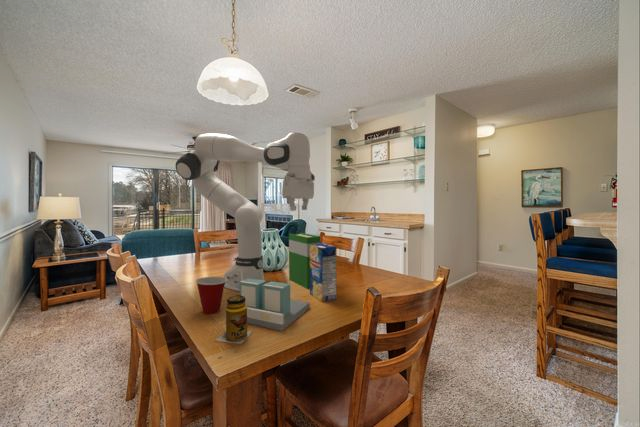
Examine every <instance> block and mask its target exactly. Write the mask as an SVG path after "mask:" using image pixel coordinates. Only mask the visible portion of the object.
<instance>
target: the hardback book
mask: <svg viewBox="0 0 640 427" xmlns="http://www.w3.org/2000/svg"><path fill="white" fill-rule="evenodd" d="M319 243H321V236H320V235H314V234H309V233H304V232H300V233H299V234H293V233H288V276H289V278H288V280H289V281H290V282H292V283H294V284H297V285H299V286H301V287H302V288H304V289H307V290H310V244H319Z"/></svg>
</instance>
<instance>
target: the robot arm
mask: <svg viewBox="0 0 640 427" xmlns="http://www.w3.org/2000/svg"><path fill="white" fill-rule="evenodd" d="M310 146H311V145H310V140H309V138H308V136H306V135H305V134H303V133H300V132H289V133H288V134H287V135H286V136H285V137H283V138H282V139H279V140H277V141H273V142H272V141H271V142H269V143H268V144H267V145H266V146H265V147H258V146H255V145H252V144H250V143H248V142H246V141H244V140H243V139H240V138H237V137H235V136H233V135H229V134H225V133H215V132H214V133H210V132H209V133H202V134H199V135H197V137H196V138H195V140H194V149H192V150H190V151H189V152H187V153H185V154H184V155H182V156H180V157H179V158H178V159H177V160H176V162H175V166H174V168H175V171H176V172H177V174H178V176H180V177H181V178H182V179H184V180H186V181H192V180H193V181H192V186H193V188H194V189H195V190H196V191H197V192H198V193H199V194H200V195H201V196H202V197H203V198H205V199H206V200H207V201H209V202H210V203H211V204H213V205H214V206H215V207H217V208H218V209H219V210H221V211H222V212H224V213H226V214H228V215H229V216H231V217H233V218H234V220H235V231H236V237H237V257H235V258H234V257H233V261H234V262H235V263H234V264H233V265H232V266H231V267H230V268H229V269H227V270H226V271H225V273H224V277H223V278H226V279H227V281H226V283H225V285H224V288H225V289H227V290H228V289H229V290H231V291H232V290H233V291H236V292H239V282H240V281H243V280H245V279H248V278H250V279H257V280H264V281H266V280H265V276H264V271H263V265H264V257H263V255H262V253H263V250H262V249H263V245H262V243H263V240H262V233H261V222H262V220H263V217H264V216H263V215H264V214H263V211H262V209H261V208H260V206H257V205H256V204H255V203H254V202H252V201H251V200H249V199H248V198H246V197H245V196H244V195H243V194H241V193H239V192H237V191H236V190H235V189H233V187H231V186H229V185H228V184H226V183H225V182H224V181H223V180H222V179H220V178H219V177H218V176H216V174H215V172H217V171H218V170H219V165H220V162H256V163H263V164H268V165H269V166H271V167H274V168H278V169H280V170H282V171H286V172H287V173H286V174H285V176H284V178H283V181H282V188H281V190H282V191H281V195H282V198H283V199H287V201H288V204H289V210H290V212H295V211H297V205H296V203H295V201H296V199H302V205H301V210H302V211H307V210H308V204H309V200H312V199H313V198H314V194H315V183H314V181H315V180H316V176H315V175H314V174H313V173H312V171H311V165H310V158H311V148H310Z"/></svg>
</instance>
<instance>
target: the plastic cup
mask: <svg viewBox="0 0 640 427" xmlns="http://www.w3.org/2000/svg"><path fill="white" fill-rule="evenodd" d="M226 281H227V279H226V278H224V277H221V276H204V277H200V278H197V279H195V283H196V286H197V289H198V295H199V299H200V304H201V308H202V312H203V314H206V315H212V314H216V313H218V312H219V311H220V310H221V305H222V301H223V294H224V288H225V287H224V285H225V283H226Z"/></svg>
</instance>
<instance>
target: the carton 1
mask: <svg viewBox="0 0 640 427" xmlns="http://www.w3.org/2000/svg"><path fill="white" fill-rule="evenodd" d="M264 280H265V279H264ZM264 280H257V279H250V278H248V279H245V280H243V281H240V282H239V291H238V295H241V296H244V297H245V302H246V304H245V305H246V306H247V307H250V308H255V309H260V310H263V294H262V285H264V284H266V283H267V280H265V281H264Z"/></svg>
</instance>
